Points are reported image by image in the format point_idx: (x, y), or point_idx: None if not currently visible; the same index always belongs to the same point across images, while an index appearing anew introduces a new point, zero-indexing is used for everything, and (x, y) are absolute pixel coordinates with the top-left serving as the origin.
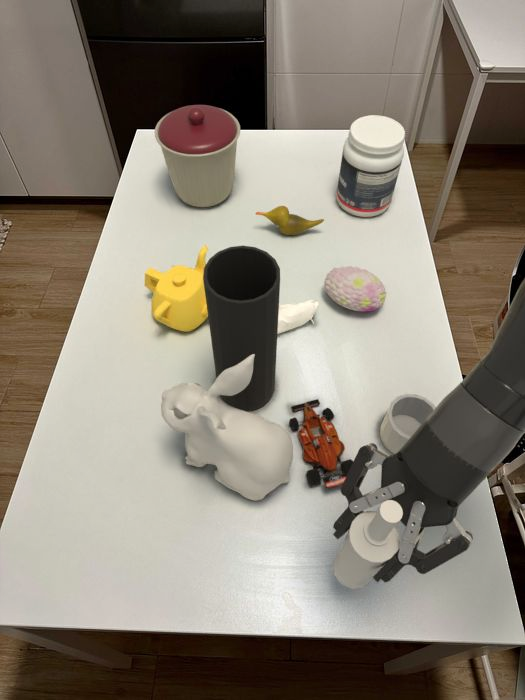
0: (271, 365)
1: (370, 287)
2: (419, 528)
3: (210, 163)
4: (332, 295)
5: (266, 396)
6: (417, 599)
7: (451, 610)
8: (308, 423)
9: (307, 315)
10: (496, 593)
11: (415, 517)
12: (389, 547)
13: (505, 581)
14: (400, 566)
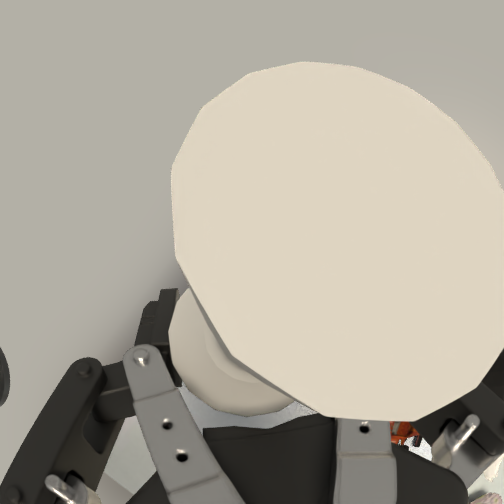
0: (499, 396)
1: None
2: (152, 458)
3: None
4: (486, 497)
5: None
6: None
7: (135, 428)
8: (407, 423)
9: (488, 467)
10: (122, 473)
11: (196, 480)
12: (190, 342)
13: (126, 488)
14: (140, 344)
